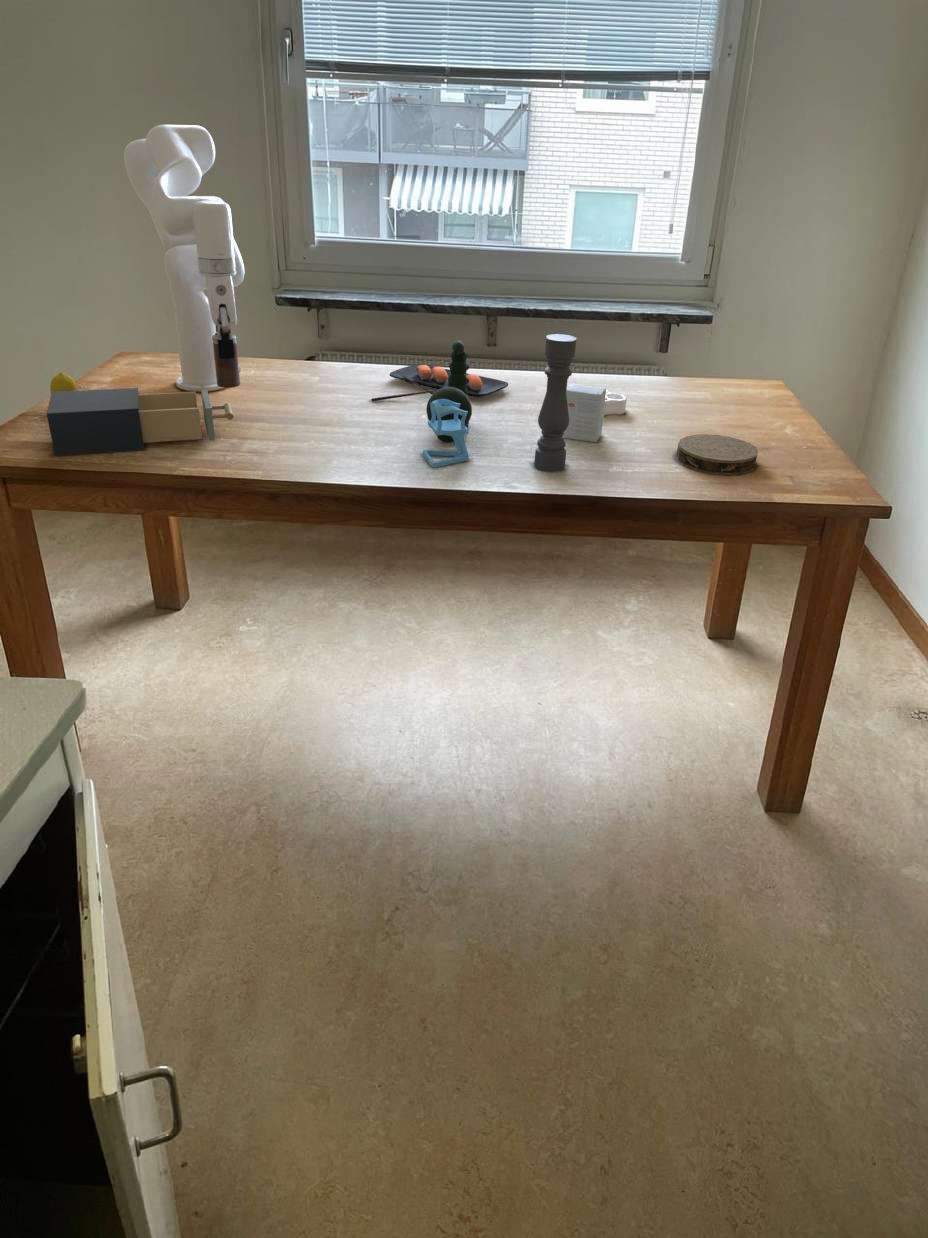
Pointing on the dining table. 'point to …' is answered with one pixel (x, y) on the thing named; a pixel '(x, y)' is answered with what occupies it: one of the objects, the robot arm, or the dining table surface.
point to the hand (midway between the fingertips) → (225, 353)
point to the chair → (448, 432)
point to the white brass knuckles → (614, 403)
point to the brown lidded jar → (226, 366)
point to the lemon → (63, 383)
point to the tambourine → (716, 454)
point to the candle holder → (555, 403)
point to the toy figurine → (454, 388)
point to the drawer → (177, 416)
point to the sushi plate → (442, 381)
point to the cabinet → (95, 421)
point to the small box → (585, 412)
